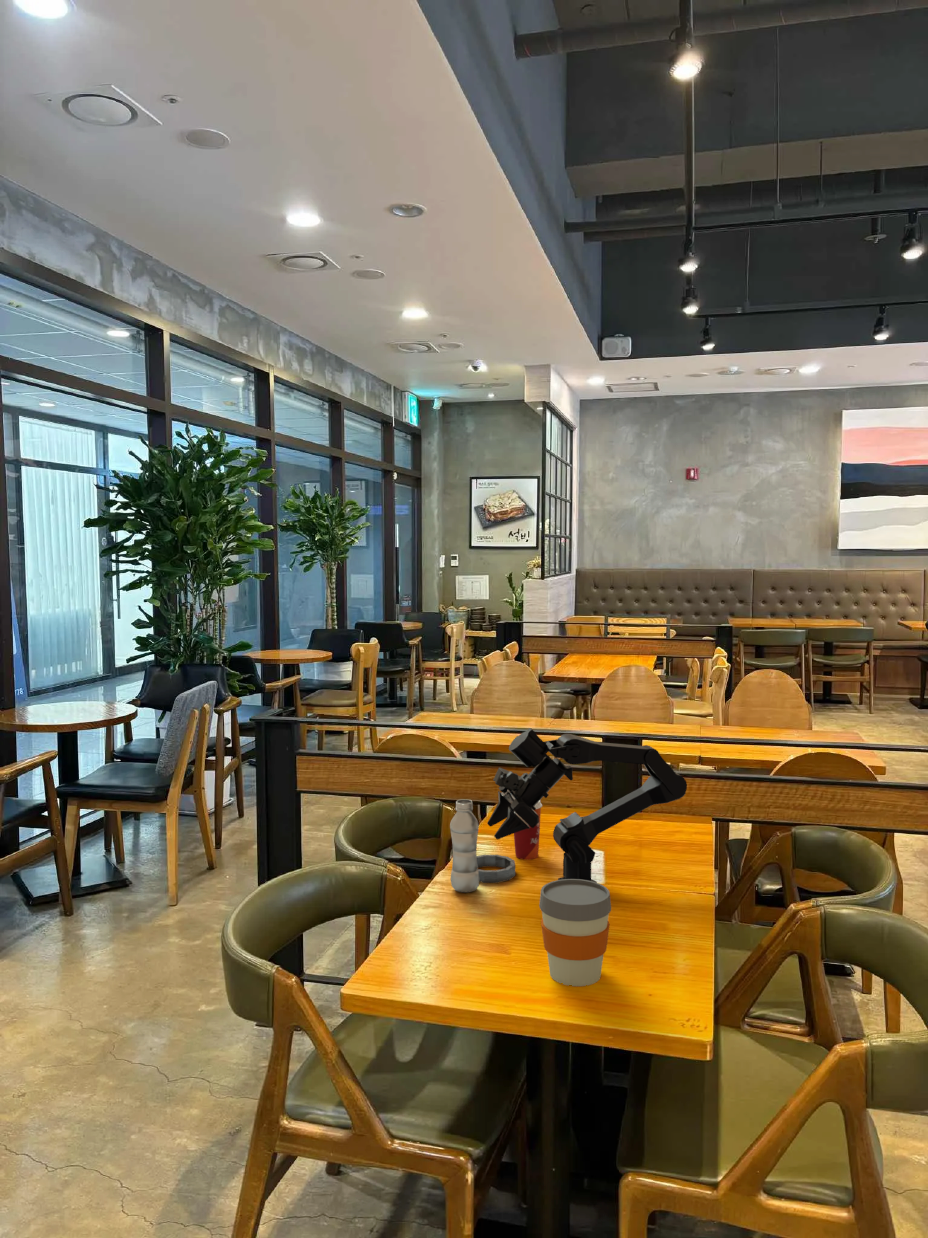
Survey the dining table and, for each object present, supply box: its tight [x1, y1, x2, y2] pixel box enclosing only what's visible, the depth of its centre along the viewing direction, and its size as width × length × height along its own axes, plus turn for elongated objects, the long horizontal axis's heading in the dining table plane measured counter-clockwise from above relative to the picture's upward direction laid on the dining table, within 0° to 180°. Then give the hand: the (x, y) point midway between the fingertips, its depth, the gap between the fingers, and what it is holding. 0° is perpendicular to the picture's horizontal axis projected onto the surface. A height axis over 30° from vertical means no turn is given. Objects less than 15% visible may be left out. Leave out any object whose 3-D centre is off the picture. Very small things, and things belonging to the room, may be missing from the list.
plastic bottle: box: [449, 799, 480, 893], centre depth 195 cm, size 6×7×20 cm
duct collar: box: [477, 854, 516, 884], centre depth 205 cm, size 12×12×2 cm
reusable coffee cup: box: [538, 879, 612, 987], centre depth 155 cm, size 13×13×15 cm
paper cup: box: [513, 800, 543, 861], centre depth 217 cm, size 8×8×14 cm
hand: (492, 831), depth 195 cm, fingers open, 9 cm apart
